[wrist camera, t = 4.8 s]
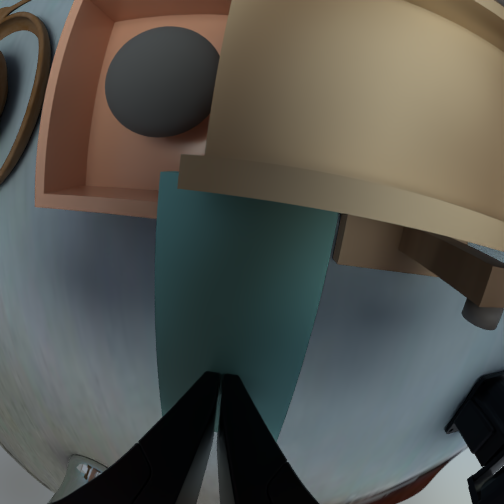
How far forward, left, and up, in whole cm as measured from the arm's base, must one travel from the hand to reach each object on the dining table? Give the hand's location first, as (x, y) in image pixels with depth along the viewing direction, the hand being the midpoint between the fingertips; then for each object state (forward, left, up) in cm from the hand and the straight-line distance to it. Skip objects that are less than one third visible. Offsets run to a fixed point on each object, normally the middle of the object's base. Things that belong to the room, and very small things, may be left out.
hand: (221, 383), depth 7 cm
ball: (+3, -8, -3) cm, 10 cm away
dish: (+3, -8, -6) cm, 11 cm away
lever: (-7, -5, 0) cm, 8 cm away
